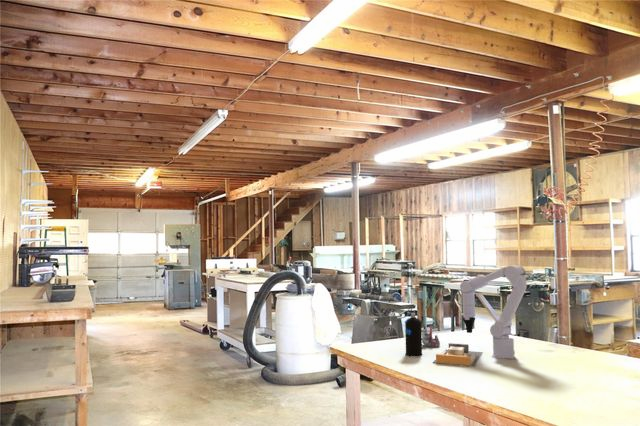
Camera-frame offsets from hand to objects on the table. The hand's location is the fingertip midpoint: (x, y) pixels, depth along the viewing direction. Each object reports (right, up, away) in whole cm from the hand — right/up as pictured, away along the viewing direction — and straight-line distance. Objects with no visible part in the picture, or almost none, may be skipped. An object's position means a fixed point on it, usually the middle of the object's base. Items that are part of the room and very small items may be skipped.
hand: (469, 332), depth 248 cm
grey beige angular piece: (-11, -8, -18) cm, 23 cm away
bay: (-9, -9, -13) cm, 18 cm away
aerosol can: (-29, -9, -6) cm, 31 cm away
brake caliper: (-16, -11, +14) cm, 24 cm away
